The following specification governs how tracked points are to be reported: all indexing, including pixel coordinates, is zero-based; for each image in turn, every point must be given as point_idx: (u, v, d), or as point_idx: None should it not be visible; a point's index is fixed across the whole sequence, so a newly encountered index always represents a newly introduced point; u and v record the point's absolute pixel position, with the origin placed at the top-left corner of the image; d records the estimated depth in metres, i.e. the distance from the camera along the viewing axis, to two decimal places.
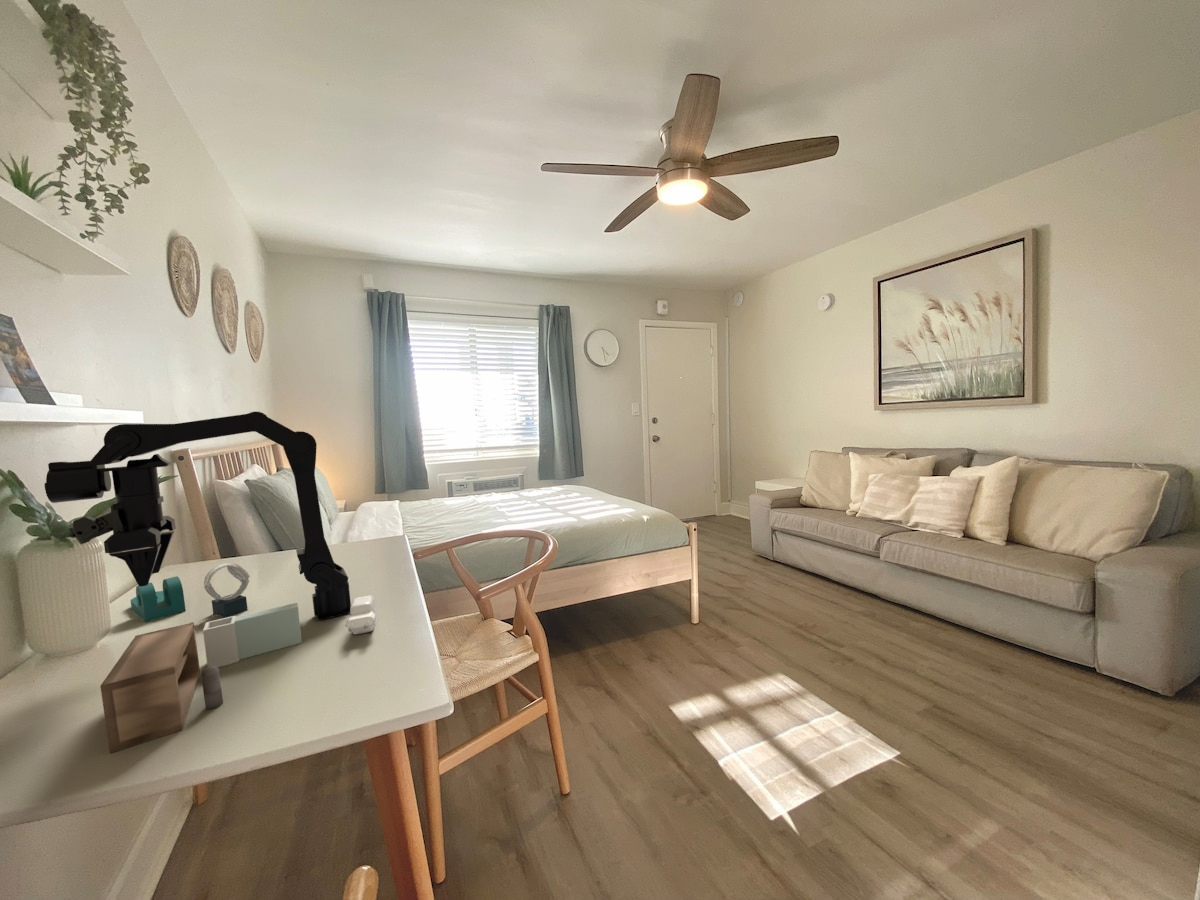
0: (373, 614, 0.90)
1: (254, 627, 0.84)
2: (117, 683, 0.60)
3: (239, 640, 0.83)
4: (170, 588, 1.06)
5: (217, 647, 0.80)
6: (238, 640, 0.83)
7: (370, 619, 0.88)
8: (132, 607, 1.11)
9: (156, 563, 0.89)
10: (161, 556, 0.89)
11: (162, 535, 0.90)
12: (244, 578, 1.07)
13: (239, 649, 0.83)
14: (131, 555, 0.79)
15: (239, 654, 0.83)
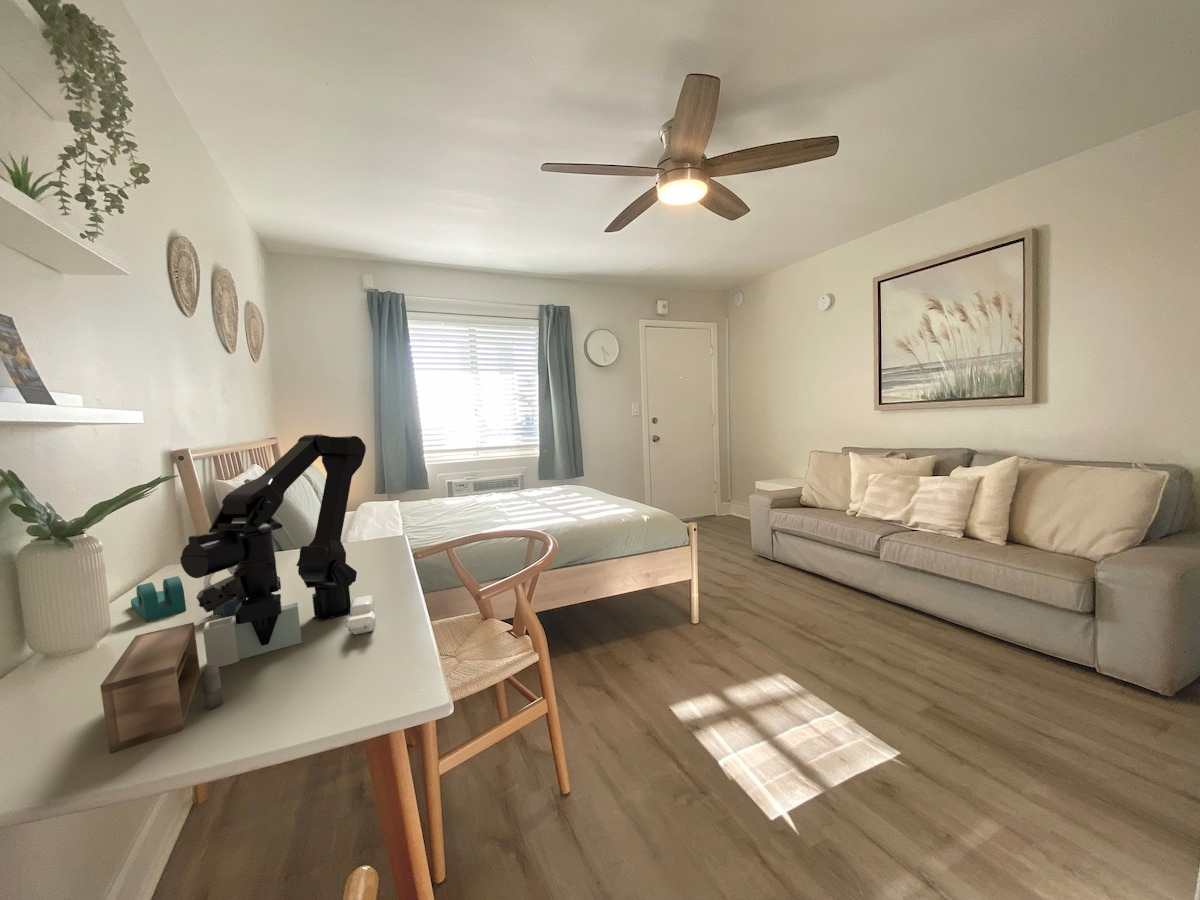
0: (373, 614, 0.90)
1: None
2: (117, 683, 0.60)
3: (239, 640, 0.83)
4: (171, 588, 1.06)
5: (217, 647, 0.80)
6: (238, 640, 0.83)
7: (370, 619, 0.88)
8: (132, 607, 1.11)
9: None
10: None
11: None
12: None
13: (239, 649, 0.83)
14: None
15: (239, 654, 0.83)
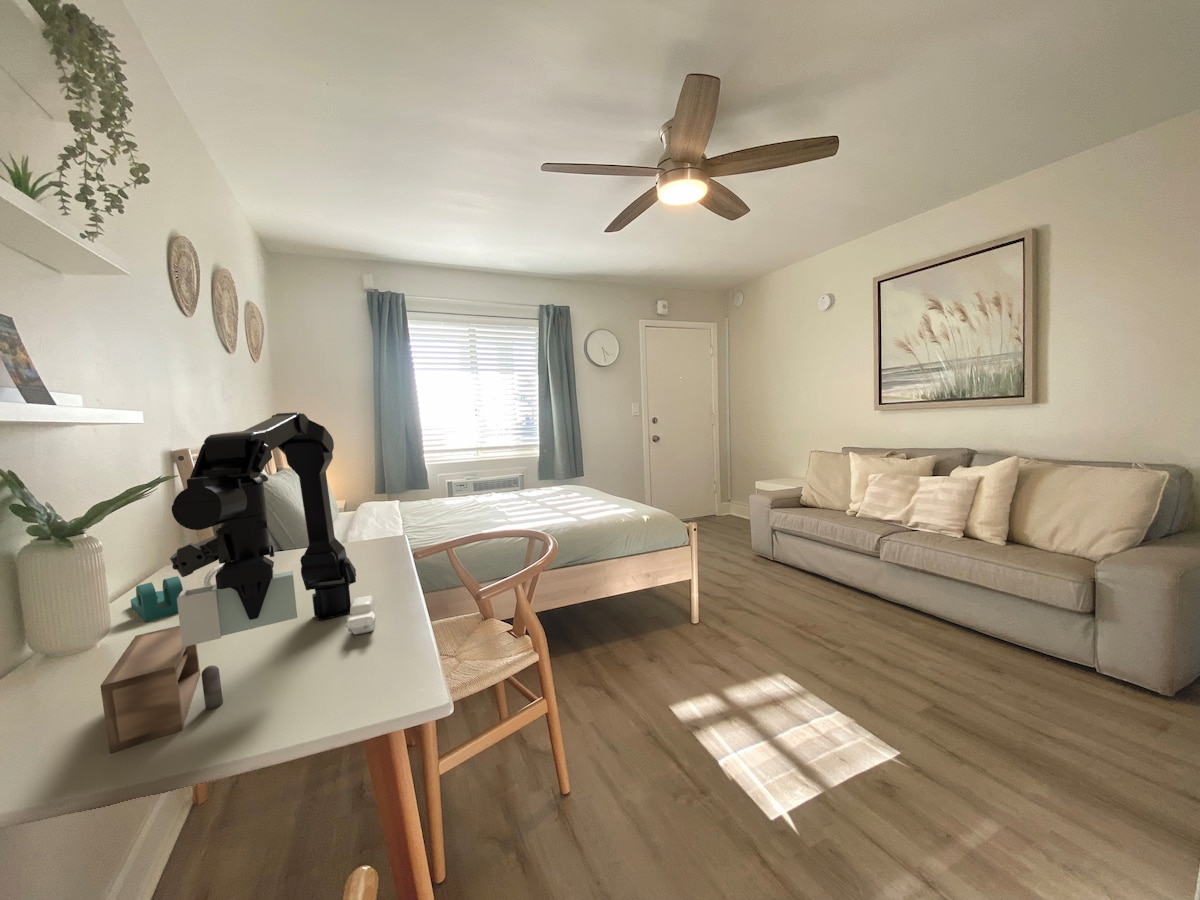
0: (373, 614, 0.90)
1: None
2: (117, 683, 0.60)
3: (222, 612, 0.69)
4: (170, 588, 1.06)
5: (194, 619, 0.66)
6: (220, 612, 0.69)
7: (370, 619, 0.88)
8: (132, 607, 1.11)
9: None
10: None
11: None
12: None
13: (221, 623, 0.69)
14: None
15: (221, 629, 0.69)
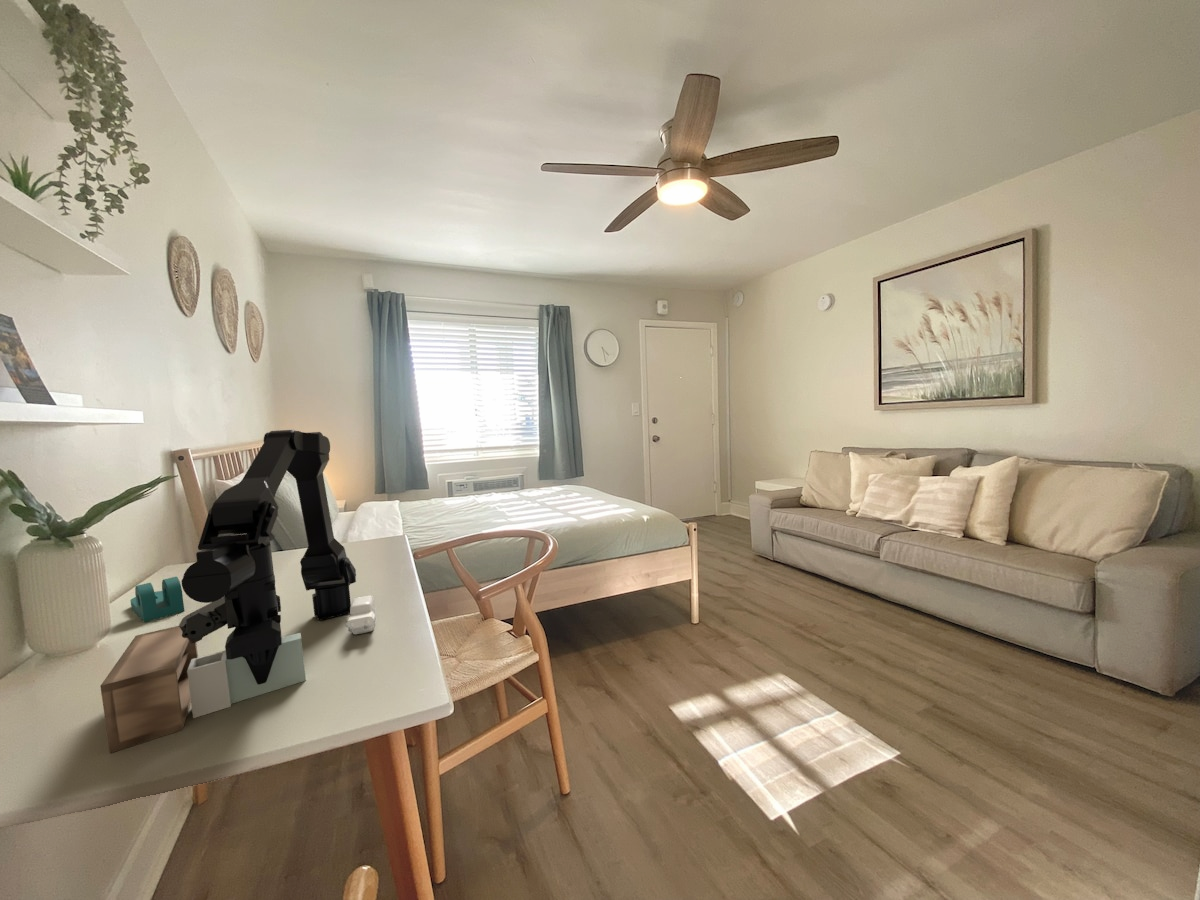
0: (373, 614, 0.90)
1: None
2: (117, 683, 0.60)
3: (231, 680, 0.69)
4: (169, 588, 1.06)
5: (204, 690, 0.67)
6: (230, 680, 0.69)
7: (370, 619, 0.88)
8: (132, 607, 1.11)
9: None
10: None
11: None
12: None
13: (231, 691, 0.69)
14: None
15: (231, 697, 0.69)
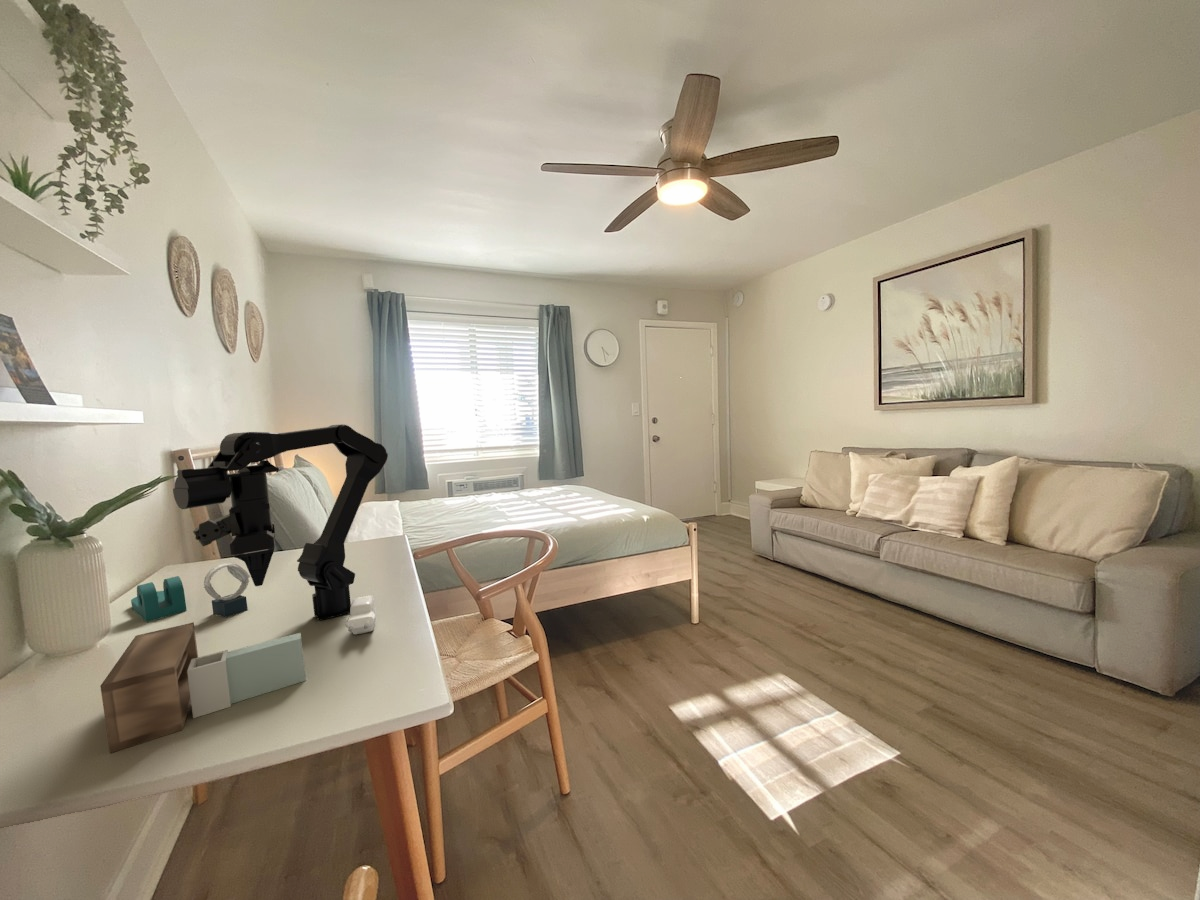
0: (373, 614, 0.90)
1: (249, 664, 0.70)
2: (117, 683, 0.60)
3: (231, 680, 0.69)
4: (171, 588, 1.06)
5: (204, 690, 0.67)
6: (230, 680, 0.69)
7: (370, 619, 0.88)
8: (133, 607, 1.11)
9: None
10: None
11: None
12: (244, 578, 1.07)
13: (231, 691, 0.69)
14: (249, 556, 0.83)
15: (231, 697, 0.69)
